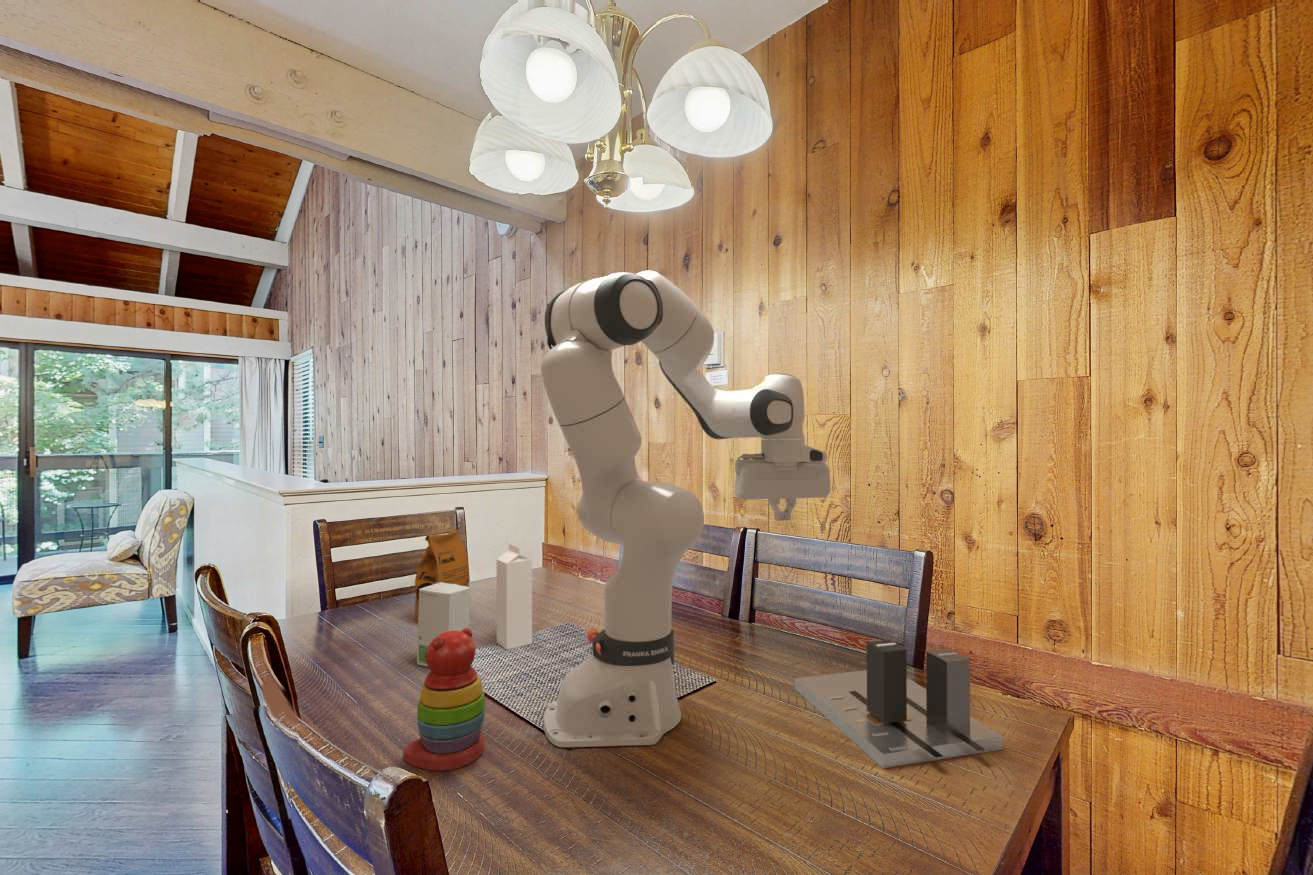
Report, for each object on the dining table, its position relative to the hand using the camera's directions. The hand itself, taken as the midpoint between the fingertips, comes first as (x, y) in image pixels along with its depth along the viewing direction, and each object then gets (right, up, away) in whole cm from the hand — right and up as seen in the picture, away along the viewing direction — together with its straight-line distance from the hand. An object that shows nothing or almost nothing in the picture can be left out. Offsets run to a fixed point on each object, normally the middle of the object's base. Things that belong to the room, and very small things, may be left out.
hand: (782, 520), depth 119 cm
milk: (-58, -29, +10) cm, 66 cm away
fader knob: (+10, -27, -28) cm, 40 cm away
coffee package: (-81, -29, +29) cm, 91 cm away
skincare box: (-70, -29, -1) cm, 76 cm away
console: (+12, -29, -25) cm, 40 cm away
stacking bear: (-56, -29, -34) cm, 72 cm away
